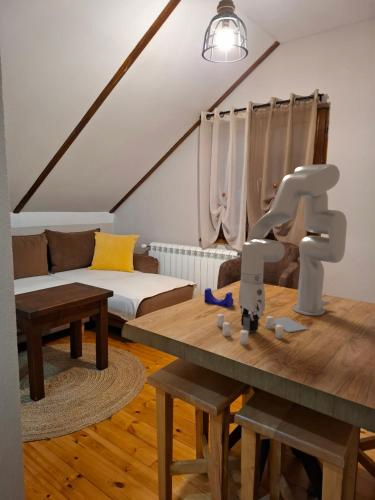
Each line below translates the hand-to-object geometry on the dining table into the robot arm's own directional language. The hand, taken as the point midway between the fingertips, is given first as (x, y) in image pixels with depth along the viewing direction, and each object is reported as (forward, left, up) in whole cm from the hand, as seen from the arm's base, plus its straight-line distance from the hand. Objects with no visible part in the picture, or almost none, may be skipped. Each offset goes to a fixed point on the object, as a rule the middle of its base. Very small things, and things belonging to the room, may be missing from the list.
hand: (249, 327), depth 122 cm
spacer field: (0, 0, -1) cm, 1 cm away
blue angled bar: (-4, -31, -2) cm, 31 cm away
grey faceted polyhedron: (0, 0, -1) cm, 1 cm away
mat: (-17, 0, -1) cm, 17 cm away
